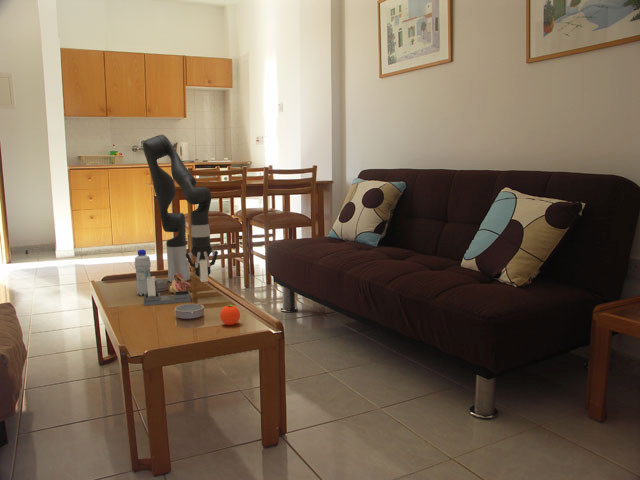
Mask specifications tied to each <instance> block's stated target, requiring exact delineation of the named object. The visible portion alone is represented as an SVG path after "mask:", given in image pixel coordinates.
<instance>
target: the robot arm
mask: <svg viewBox="0 0 640 480" xmlns="http://www.w3.org/2000/svg"><path fill="white" fill-rule="evenodd" d="M142 150H143V154H144V156H145V160H146V163H147V165H148V169H149V171H150V172H149V173H150V177H151V181H152V186H153V189H154V193H155V197H156V201H157V205H158V209H159V214H160V222H161V227H162V229H163V231H164V232H166V233H177V235H176V236H175V237H172V238H170V239H168V240H166V241H165V242H166V260H167V272H168V273H167V275H168V277H167V278H168V282H169V281H170V282H169V283H172V280H174V275H175V274H176V273H179V274H182V276H183V280H185V281H186V282H187V281H189V280H191V279H190V273H191V272H190V267H193V268H194V274H195V276H197V277H200V276H199V269H198V263H199V260H201V259H206V260H207V269H208V277H209V276H210V274H212V271H211V266H214V265H215V263H216V260H217V258H218V254H219V251H218V250H214V249H212V247H211V230H210V223H209V212H210V207H211V203H212V193H211V191H210V189H209V188H208V187H207V186H197V187H196V185H197V179H196V178H195V176H194V174H192V173H191V172H190V170H189V169H188V168H187V166H185V164H184V162H183V161H182V159H181V158H180V155H179V154H178V152H177V150H176V149H175V147H174V146H173V143H171V141H170V139H169V138H168V137H167V136H166V135H164V134H158V135H155V136H153V137H150V138H147V139H145V140H144V141H143V142H142ZM166 156H168V157H169V158H170V172H171V175H170V174H169V173H168V172H167V171H165V170H164V169H163V168H161V167H160V166H159V164H158V160H160V159H161V158H164V157H166ZM175 182H176V184H177V185H178V186H179V188H180V189H181V192H182V193H183V196H184V199H185V201H186V202H187V203H188V204H190V205H193V206H194V205H197V207H196V209H194V210H192V211H191V213H190V220H191V221H190V222H191V227H190V231H191V249H190V250H191V251H188V252H187V238H186V237H187V236H186V235H187V233H186V230H187V229H186V224H187V223H186V221H187V220H186V216H185V214H184V212H169V211H168V209H169V207H170V206H171V204H172V202H173V200H174V199H175V197H176V193H177V190H176V184H175ZM192 255H193V257H195V261H194V262H195V263H193V260H192V259H191V258H192ZM211 255H212V259H211V261H210V260H209V258H210V256H211Z"/></svg>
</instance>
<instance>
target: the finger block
mask: <svg viewBox="0 0 640 480" xmlns="http://www.w3.org/2000/svg"><path fill="white" fill-rule="evenodd" d="M198 269H199V276H198V277H199V279H200V282H201V283H203V282H209V276H208V269H207V260H206V259H201V260H199V263H198Z"/></svg>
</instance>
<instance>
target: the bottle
mask: <svg viewBox="0 0 640 480" xmlns="http://www.w3.org/2000/svg"><path fill="white" fill-rule="evenodd" d="M146 252H147V251H146V250H145V249H139V250H137V256H136V257H135V258H134V269H135V276H136V292H137V295H138V296H144V295H145V294H148V287H147V277H152V276H151V266H152V265H151V259H150V256H149V255H146V254H147V253H146Z"/></svg>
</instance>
